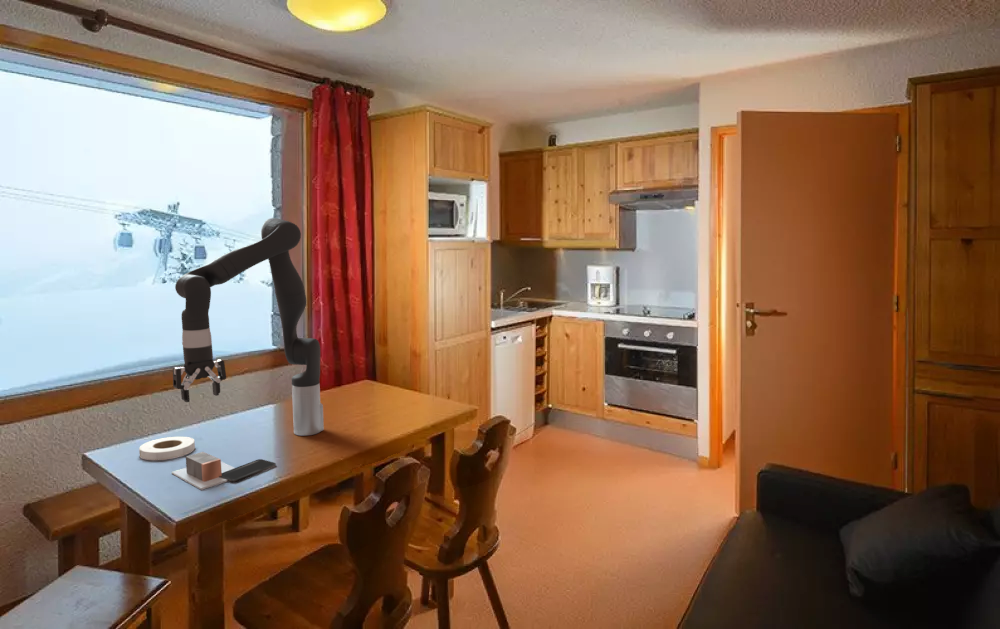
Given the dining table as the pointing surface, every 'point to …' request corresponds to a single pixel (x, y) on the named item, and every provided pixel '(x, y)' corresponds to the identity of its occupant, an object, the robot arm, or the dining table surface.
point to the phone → (247, 470)
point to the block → (203, 466)
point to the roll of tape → (166, 448)
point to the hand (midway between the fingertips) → (201, 398)
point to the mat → (198, 483)
